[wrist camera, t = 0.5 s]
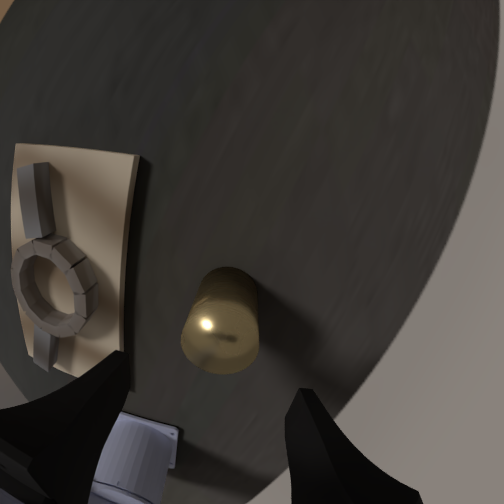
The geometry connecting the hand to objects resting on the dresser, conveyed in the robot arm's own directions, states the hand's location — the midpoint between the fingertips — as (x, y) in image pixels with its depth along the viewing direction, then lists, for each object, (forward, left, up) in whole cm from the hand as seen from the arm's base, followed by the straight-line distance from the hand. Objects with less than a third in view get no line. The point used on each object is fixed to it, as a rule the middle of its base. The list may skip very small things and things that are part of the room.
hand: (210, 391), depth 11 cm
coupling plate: (-2, +13, -9) cm, 16 cm away
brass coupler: (0, 0, -9) cm, 9 cm away
